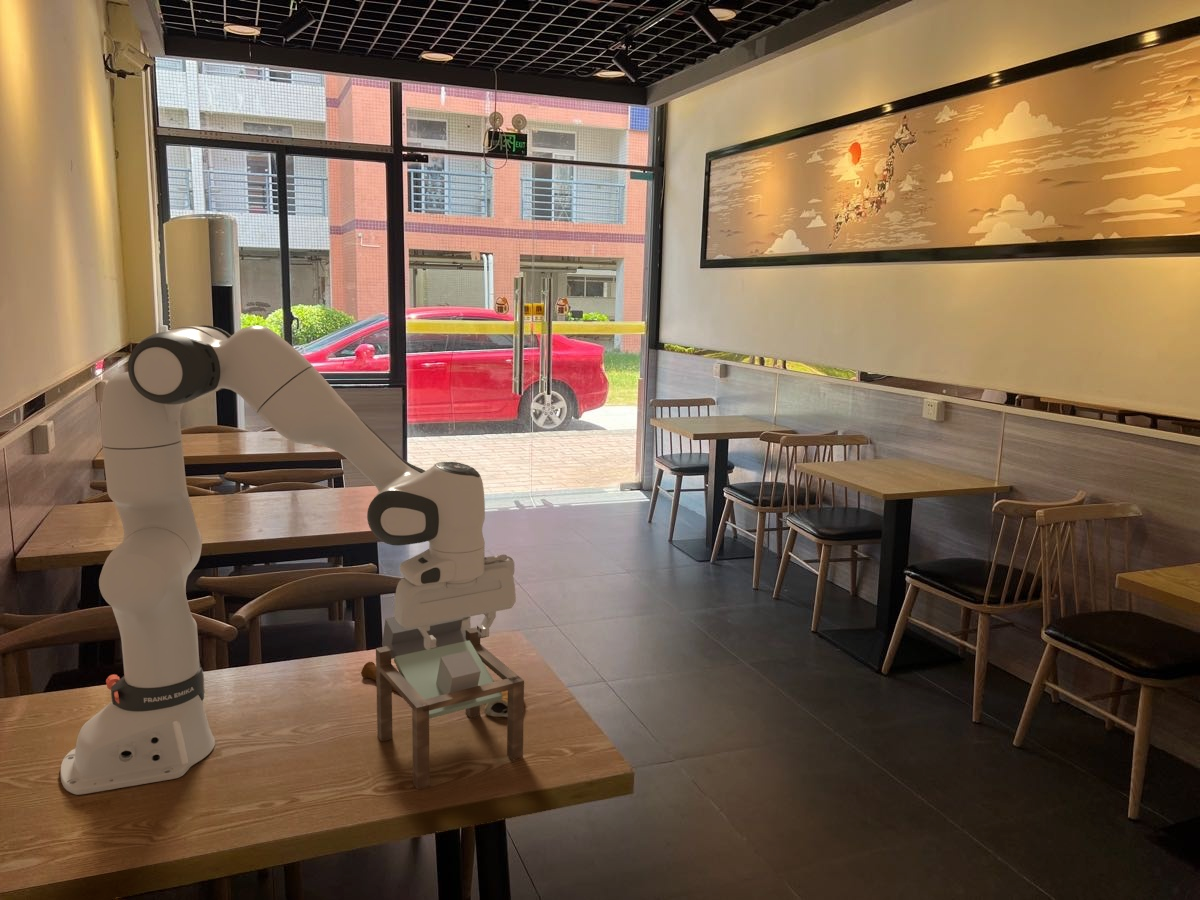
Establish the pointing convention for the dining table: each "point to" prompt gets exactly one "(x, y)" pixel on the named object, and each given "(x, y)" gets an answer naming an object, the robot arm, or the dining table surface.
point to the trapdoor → (432, 659)
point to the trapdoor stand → (421, 707)
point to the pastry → (498, 706)
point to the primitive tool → (371, 672)
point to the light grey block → (457, 673)
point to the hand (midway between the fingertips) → (457, 642)
